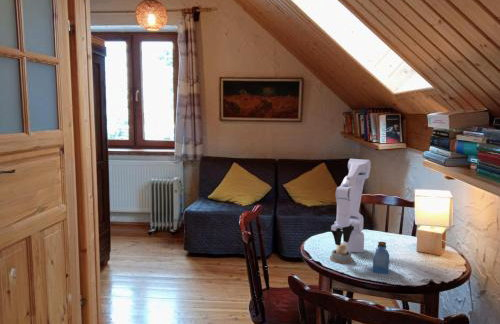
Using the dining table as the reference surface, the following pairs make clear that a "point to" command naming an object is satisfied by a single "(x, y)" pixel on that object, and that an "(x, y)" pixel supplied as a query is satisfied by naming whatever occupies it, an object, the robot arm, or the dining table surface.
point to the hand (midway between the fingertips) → (341, 243)
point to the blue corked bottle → (381, 259)
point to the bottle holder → (341, 257)
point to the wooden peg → (341, 249)
